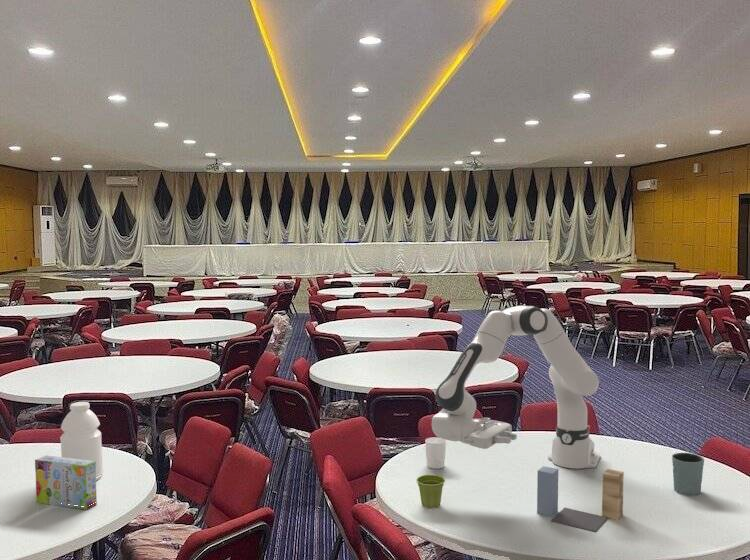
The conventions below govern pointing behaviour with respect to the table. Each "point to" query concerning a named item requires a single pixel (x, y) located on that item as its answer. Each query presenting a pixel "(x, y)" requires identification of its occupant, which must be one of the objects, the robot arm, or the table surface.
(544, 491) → the slate pillar
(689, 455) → the teal embossed cup
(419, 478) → the plant pot
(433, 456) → the white cup
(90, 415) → the bottle
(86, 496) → the snack box
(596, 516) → the mat
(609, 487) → the oak pillar
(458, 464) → the table surface
